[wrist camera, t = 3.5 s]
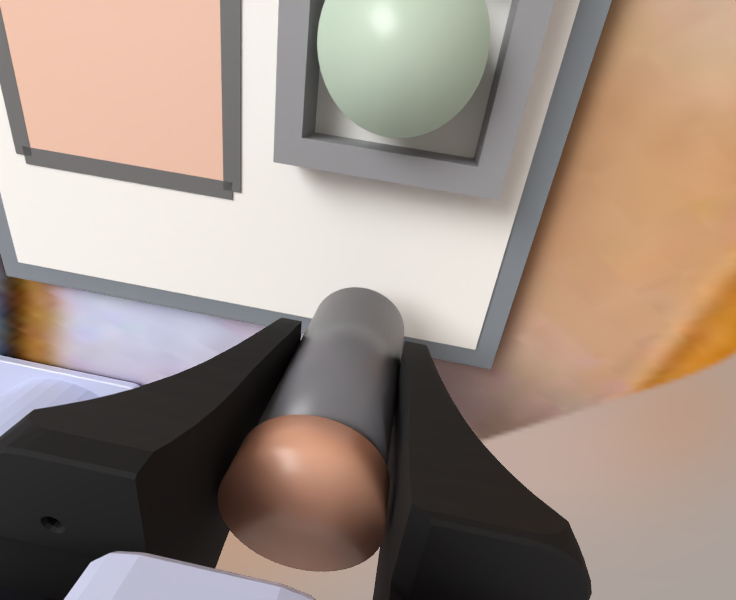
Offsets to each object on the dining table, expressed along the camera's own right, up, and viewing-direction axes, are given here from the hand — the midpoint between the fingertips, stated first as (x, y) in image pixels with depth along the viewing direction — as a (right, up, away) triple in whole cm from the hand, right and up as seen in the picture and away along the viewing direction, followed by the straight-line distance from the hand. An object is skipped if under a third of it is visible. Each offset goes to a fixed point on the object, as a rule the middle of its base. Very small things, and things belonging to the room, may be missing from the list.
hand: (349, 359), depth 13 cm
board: (-4, +7, +2) cm, 9 cm away
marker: (0, +1, +2) cm, 2 cm away
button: (+2, +8, -1) cm, 9 cm away
